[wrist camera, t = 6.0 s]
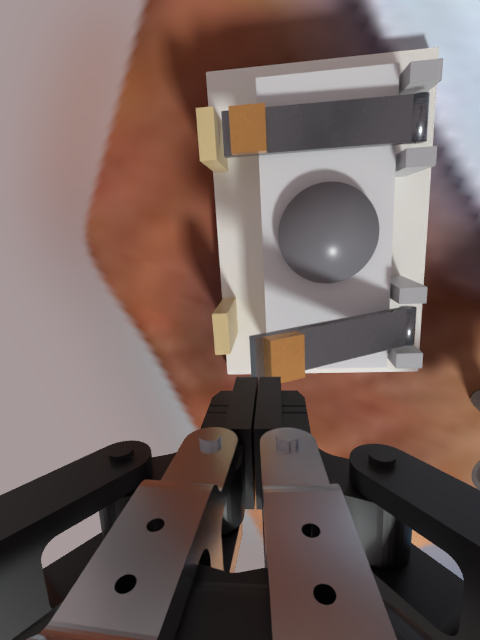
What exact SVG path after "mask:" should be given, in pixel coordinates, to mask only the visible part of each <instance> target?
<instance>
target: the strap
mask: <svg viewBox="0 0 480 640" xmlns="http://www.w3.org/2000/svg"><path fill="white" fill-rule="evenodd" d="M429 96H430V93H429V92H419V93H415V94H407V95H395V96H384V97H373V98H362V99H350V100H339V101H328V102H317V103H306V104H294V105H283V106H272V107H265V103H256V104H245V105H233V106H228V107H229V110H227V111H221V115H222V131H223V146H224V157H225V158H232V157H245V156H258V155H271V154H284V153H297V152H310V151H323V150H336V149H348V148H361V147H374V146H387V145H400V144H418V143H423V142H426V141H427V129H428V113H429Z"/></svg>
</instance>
